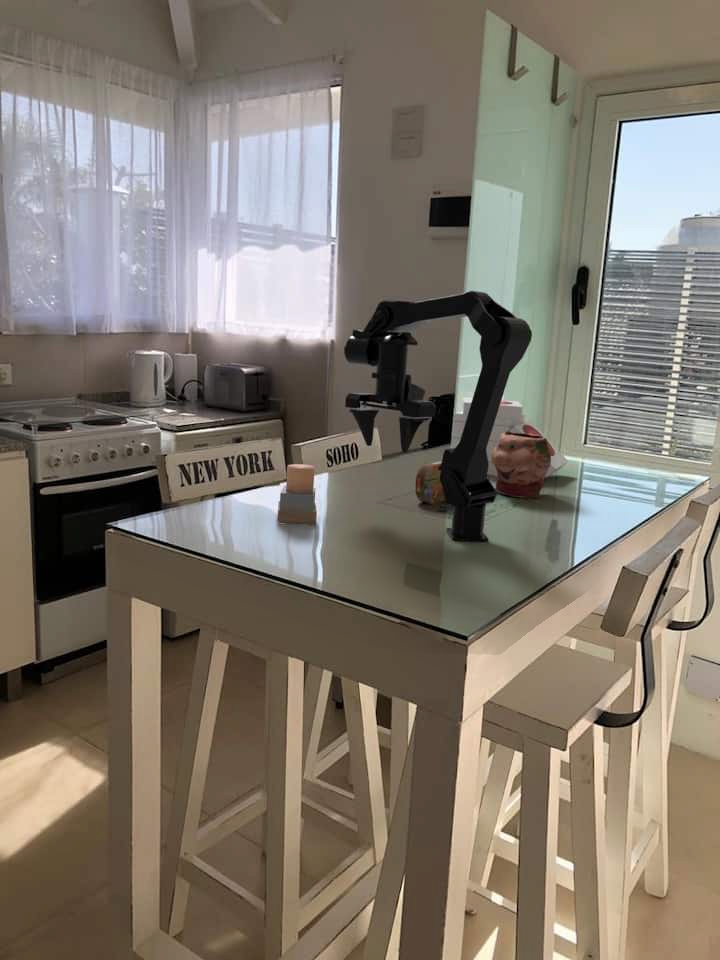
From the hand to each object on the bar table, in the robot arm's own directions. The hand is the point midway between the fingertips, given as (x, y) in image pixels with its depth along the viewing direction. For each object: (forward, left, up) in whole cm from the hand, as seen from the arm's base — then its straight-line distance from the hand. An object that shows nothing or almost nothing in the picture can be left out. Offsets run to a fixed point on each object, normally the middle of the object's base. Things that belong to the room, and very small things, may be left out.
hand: (386, 448), depth 154 cm
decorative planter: (+24, -35, -13) cm, 45 cm away
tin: (+13, -13, -13) cm, 23 cm away
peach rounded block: (-8, +17, -7) cm, 20 cm away
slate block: (-8, +17, -10) cm, 21 cm away
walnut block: (-8, +17, -13) cm, 23 cm away
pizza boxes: (+51, -39, -13) cm, 66 cm away
